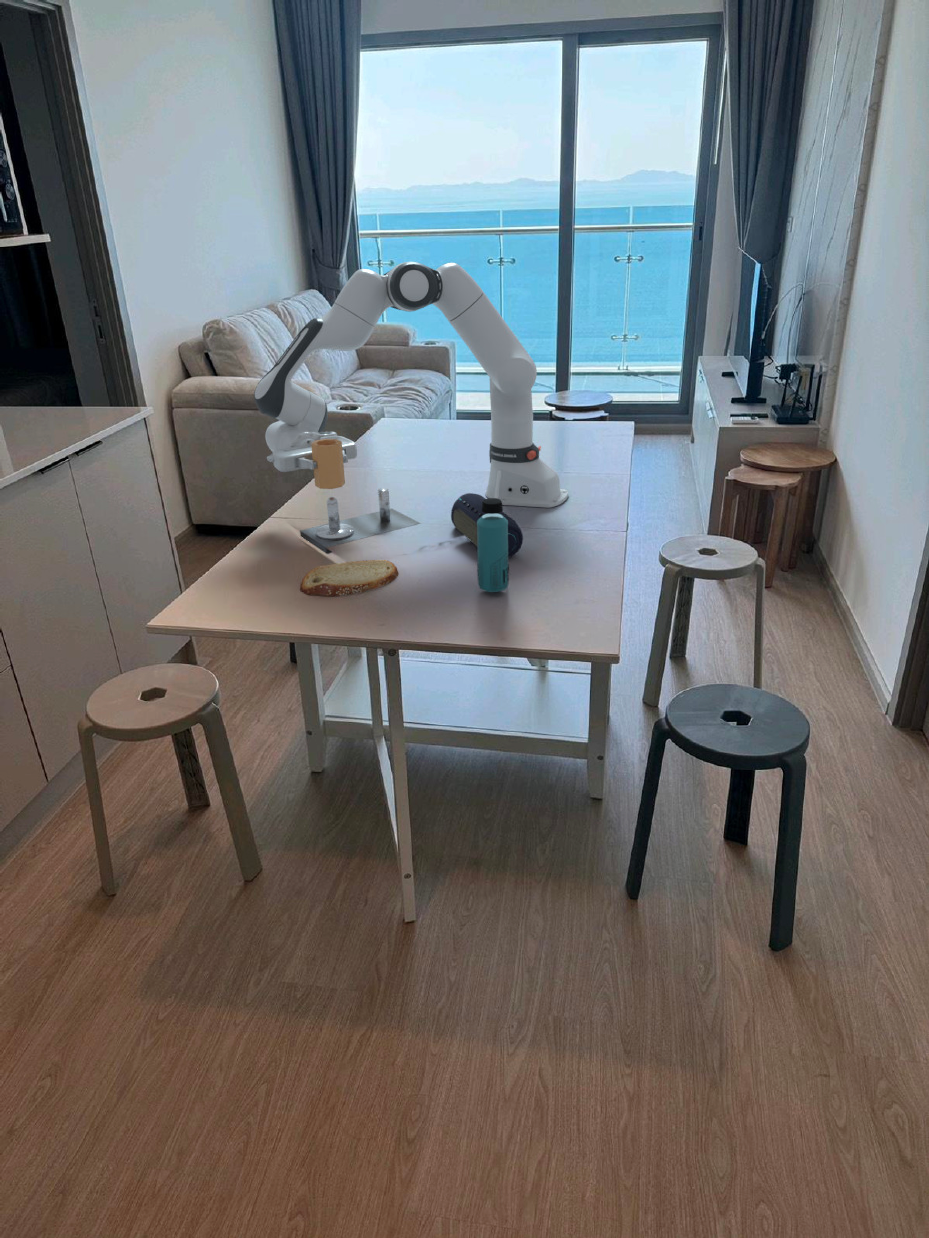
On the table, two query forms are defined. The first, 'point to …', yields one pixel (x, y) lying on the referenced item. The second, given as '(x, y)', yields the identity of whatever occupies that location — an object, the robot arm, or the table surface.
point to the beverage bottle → (492, 547)
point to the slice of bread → (348, 578)
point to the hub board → (356, 524)
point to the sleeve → (328, 463)
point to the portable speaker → (470, 512)
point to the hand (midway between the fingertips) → (329, 462)
